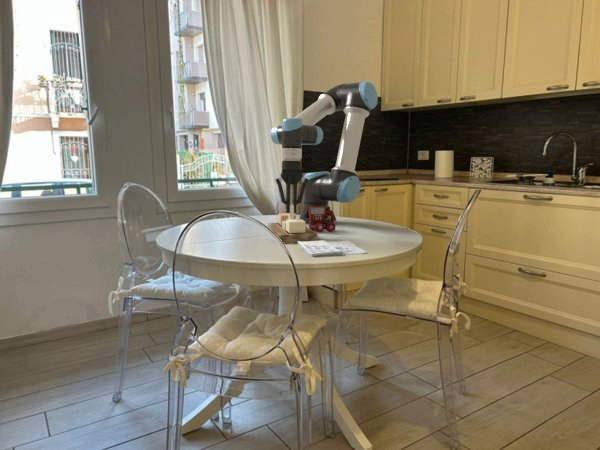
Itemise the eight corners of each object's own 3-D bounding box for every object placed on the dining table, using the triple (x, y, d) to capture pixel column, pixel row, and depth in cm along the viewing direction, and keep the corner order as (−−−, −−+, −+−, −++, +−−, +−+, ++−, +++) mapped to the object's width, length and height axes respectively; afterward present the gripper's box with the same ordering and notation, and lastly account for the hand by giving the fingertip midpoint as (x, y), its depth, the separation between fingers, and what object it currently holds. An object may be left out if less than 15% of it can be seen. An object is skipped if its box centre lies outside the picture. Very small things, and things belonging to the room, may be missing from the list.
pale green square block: (296, 230, 173) (296, 220, 172) (300, 233, 167) (300, 223, 166) (282, 230, 171) (282, 220, 171) (284, 233, 166) (285, 223, 165)
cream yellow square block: (301, 229, 165) (301, 219, 164) (305, 232, 159) (305, 221, 158) (286, 230, 163) (286, 219, 163) (289, 233, 158) (289, 222, 157)
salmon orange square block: (292, 222, 180) (292, 213, 179) (295, 225, 174) (295, 215, 174) (278, 223, 179) (278, 213, 178) (281, 225, 173) (281, 215, 172)
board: (300, 229, 183) (300, 221, 183) (317, 241, 158) (317, 233, 158) (268, 230, 180) (268, 222, 180) (279, 243, 155) (279, 234, 155)
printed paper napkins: (296, 245, 154) (296, 239, 154) (350, 243, 159) (350, 238, 159) (310, 258, 136) (310, 252, 136) (370, 256, 141) (370, 249, 140)
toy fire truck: (339, 231, 180) (340, 206, 178) (312, 233, 175) (312, 207, 173) (331, 228, 186) (332, 204, 184) (305, 230, 181) (305, 205, 179)
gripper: (276, 160, 159) (276, 223, 163) (310, 160, 162) (309, 222, 166) (273, 159, 166) (272, 220, 170) (306, 159, 169) (305, 219, 173)
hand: (291, 221), depth 168 cm, fingers closed
